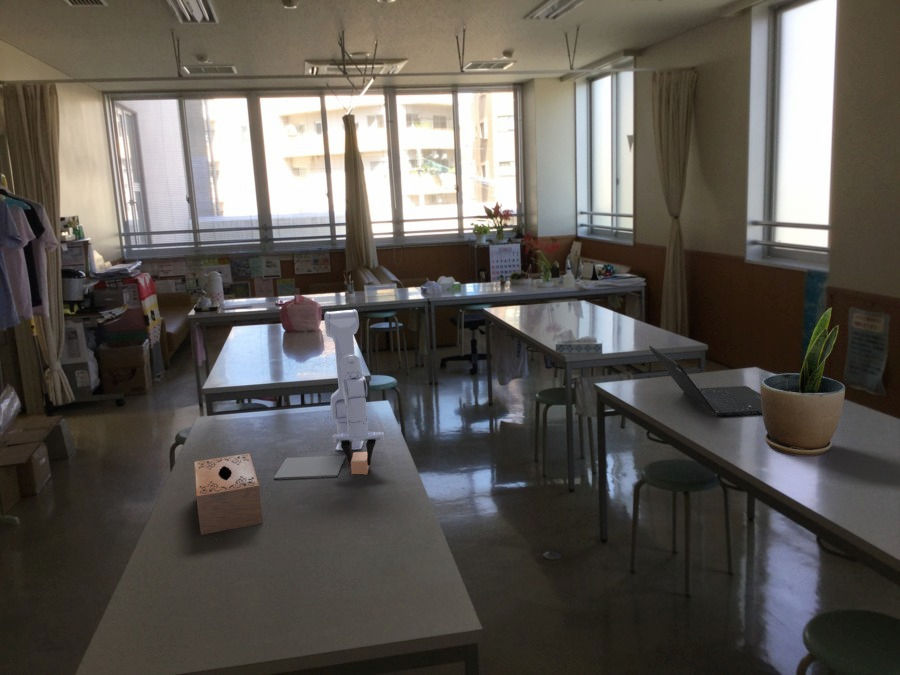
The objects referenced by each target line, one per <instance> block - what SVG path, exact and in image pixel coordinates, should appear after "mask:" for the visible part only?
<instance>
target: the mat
mask: <svg viewBox="0 0 900 675" xmlns="http://www.w3.org/2000/svg"><path fill="white" fill-rule="evenodd" d="M346 458H347V456H346V454H345V455H327V456H326V455H320V456H304V457H303V456H301V457H285V460H284V461H283V462H282V464H281V465H280V468H278V471H277V472H276V474H275V475H274V476H273V480H274V479H278V480H297V479H298V480H299V479H317V478H320V479H321V478H322V477H323V478H337V477H336V476H338V477H339V474H340V472H339V471H341V469H342V467H343V465H344V462H343V461H345V460H346ZM344 459H345V460H344ZM342 464H343V465H342ZM341 466H342V467H341Z"/></svg>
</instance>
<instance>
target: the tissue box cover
mask: <svg viewBox="0 0 900 675" xmlns="http://www.w3.org/2000/svg"><path fill="white" fill-rule="evenodd" d="M193 464H194V478H195V496H196V497H195V498H196V505H197V514H198V523H199V530H200V535H208V534H212V533H213V534H214V533H219V532H223V531H229V530H233V529H239V528H240V529H241V528H245V527H251V526H255V525H261V524H264V521H263V520H264V519H263V511H262V510H263V509H262V500H261V493H260V492H261V490H260V484H259V481H258V477H257V473H256V470H255V466H254V463H253V460H252V457H251V453H250V452H249V453H243V454H242V453H241V454H235V455H228V456H222V457H216V458H215V457H214V458H209V459H202V460H197V461H196V460H195V461H194V463H193Z"/></svg>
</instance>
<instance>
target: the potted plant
mask: <svg viewBox="0 0 900 675" xmlns="http://www.w3.org/2000/svg"><path fill="white" fill-rule="evenodd" d="M832 309H833V307H828V308H827V310H826V311H824V313H823V314H822V316H821V317H820V319H819V321H817V324H816V326H815V328H814V330H813V333H812V335H811V338H810V341H809V344H808V346H807V351H806V355H805V358H804V360H803V363H802V367H801V370H800V373H789V372H788V373H787V372H785V373H779V374H778V373H777V374H772V375H769V376H766V377H764V378H763V379H761V380H760V394H761V406H762V414H761V415H762V420H763V424H764V428H765V432H766V434H765V435H764V440H765V443H766V444H767V445H768V446H769V447H770V448H772V449H774V451H778V452H780V453H783V454H787V455H792V456H793V455H794V456H802V457H803V456H805V457H806V456H807V457H809V456H817V455H822V454H824V453H826V452H827V451H829V450H830V448H831V447H832V444H833V443H832V441H831V440H832V439H833V437H834V436H835V433H836V431H837V428H838V426H839V422H840V419H841V415H842V412H843V407H844V400H845V396H846V395H845V394H846V393H845V392H846V386H845V384H843V383H842V382H841V381H838V380H835V379H833V378H829V377H825V376H823V372H824V369H825V365H826V364H825V363H826V359H827V358H828V357H829V355H830V354H831V352H832V351H833V346H834V344H835V342H836V340H837V337H838V333H839V326H840V325H839V324H837V325H835V326H834V327H833V328H832V329H831V331H830V332H829V334H828V328H829V324H830V321H831V316H832Z"/></svg>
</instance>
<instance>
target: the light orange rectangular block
mask: <svg viewBox="0 0 900 675" xmlns="http://www.w3.org/2000/svg"><path fill="white" fill-rule="evenodd" d="M350 467H351V468H350V470H351V475H352V474H364V475H368V474H369V473H368V472H369V469H368V468H370V466H368V463H367V451H354V452H352V460H351V466H350Z"/></svg>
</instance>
